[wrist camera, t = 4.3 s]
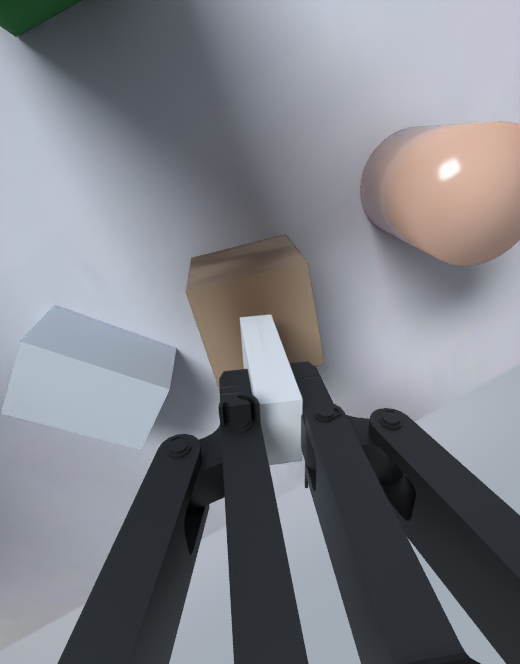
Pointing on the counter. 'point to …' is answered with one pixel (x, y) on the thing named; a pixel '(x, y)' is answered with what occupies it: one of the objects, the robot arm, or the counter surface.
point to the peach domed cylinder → (448, 189)
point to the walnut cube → (254, 300)
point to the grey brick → (89, 378)
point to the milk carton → (29, 13)
